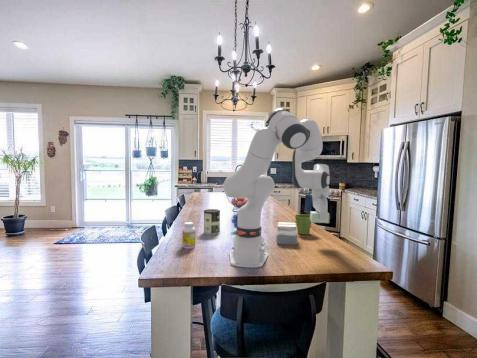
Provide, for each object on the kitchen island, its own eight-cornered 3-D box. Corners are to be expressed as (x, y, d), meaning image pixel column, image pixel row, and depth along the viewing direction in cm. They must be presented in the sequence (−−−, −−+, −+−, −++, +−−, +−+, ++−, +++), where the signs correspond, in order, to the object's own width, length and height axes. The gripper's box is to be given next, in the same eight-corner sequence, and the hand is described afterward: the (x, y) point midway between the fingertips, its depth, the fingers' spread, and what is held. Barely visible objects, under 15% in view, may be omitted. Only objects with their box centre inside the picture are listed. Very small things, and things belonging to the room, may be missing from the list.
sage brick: (329, 223, 144) (329, 213, 144) (312, 222, 145) (312, 213, 145) (326, 220, 150) (326, 211, 150) (310, 220, 151) (310, 211, 150)
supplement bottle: (179, 246, 141) (179, 222, 140) (190, 244, 146) (190, 220, 145) (187, 250, 136) (187, 225, 135) (197, 247, 141) (197, 223, 140)
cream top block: (295, 235, 147) (296, 227, 147) (277, 234, 149) (277, 226, 149) (295, 231, 157) (295, 222, 157) (277, 230, 159) (278, 222, 159)
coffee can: (220, 230, 175) (220, 209, 174) (219, 234, 165) (219, 212, 164) (204, 230, 175) (204, 208, 174) (202, 234, 165) (202, 211, 164)
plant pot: (315, 232, 172) (316, 215, 172) (309, 236, 163) (309, 218, 162) (298, 229, 179) (298, 213, 178) (290, 233, 169) (291, 216, 168)
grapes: (232, 232, 170) (232, 214, 169) (231, 230, 177) (231, 212, 176) (250, 232, 172) (250, 213, 171) (248, 229, 178) (249, 211, 177)
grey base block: (296, 245, 147) (297, 236, 147) (276, 244, 148) (276, 235, 148) (294, 239, 158) (295, 231, 158) (276, 238, 159) (276, 230, 159)
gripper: (331, 196, 136) (330, 223, 137) (321, 191, 156) (321, 215, 157) (318, 195, 136) (317, 222, 137) (310, 191, 157) (310, 214, 158)
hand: (319, 218), depth 147 cm, fingers closed on sage brick, 6 cm apart
